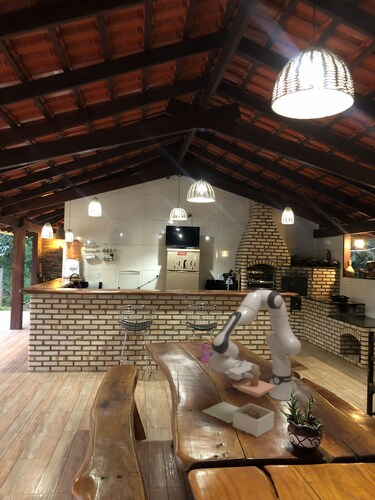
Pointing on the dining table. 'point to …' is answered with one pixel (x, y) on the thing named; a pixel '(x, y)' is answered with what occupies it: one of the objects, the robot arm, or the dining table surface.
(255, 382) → the lid
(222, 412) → the mat
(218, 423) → the dining table surface
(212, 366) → the robot arm
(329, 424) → the dining table surface
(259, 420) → the box
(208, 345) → the gum box
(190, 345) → the dining table surface
